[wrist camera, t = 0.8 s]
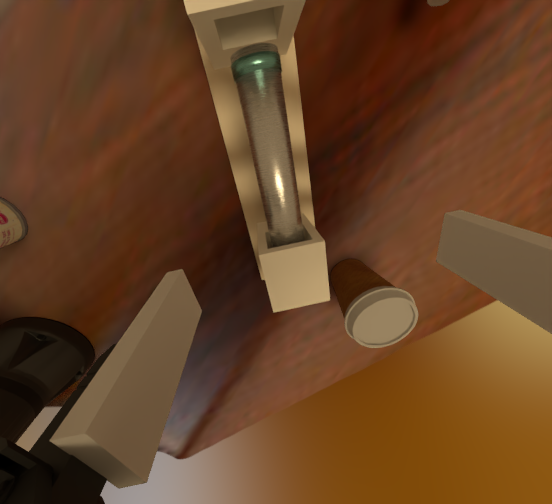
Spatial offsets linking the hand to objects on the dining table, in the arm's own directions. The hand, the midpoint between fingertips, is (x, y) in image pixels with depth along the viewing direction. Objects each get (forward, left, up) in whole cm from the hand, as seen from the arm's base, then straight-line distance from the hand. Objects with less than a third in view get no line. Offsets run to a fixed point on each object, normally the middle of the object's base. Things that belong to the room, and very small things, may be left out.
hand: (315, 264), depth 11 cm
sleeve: (0, -8, -21) cm, 23 cm away
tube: (0, 0, -16) cm, 16 cm away
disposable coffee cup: (+10, -17, -22) cm, 29 cm away
